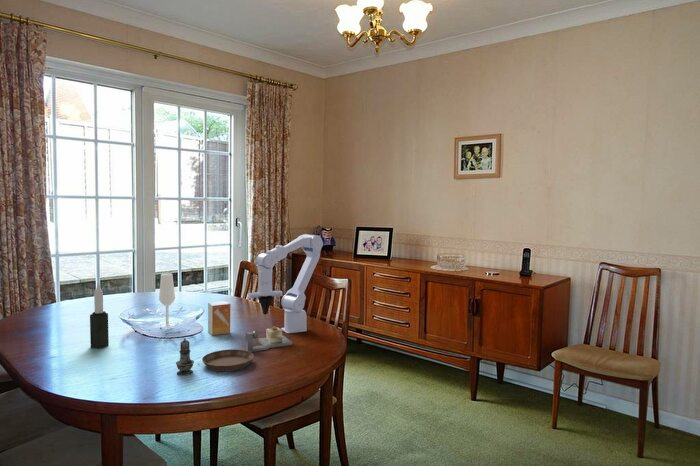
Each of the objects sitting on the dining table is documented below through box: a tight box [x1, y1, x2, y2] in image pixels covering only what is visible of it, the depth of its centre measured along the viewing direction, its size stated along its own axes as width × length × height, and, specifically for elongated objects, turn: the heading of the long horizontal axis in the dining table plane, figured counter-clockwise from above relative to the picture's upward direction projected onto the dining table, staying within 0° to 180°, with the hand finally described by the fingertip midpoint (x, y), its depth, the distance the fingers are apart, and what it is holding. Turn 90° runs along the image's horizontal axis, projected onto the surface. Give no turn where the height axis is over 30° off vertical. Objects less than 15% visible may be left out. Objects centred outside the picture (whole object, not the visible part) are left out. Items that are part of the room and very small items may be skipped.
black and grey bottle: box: [89, 282, 110, 350], centre depth 186 cm, size 5×5×25 cm
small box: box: [207, 300, 232, 336], centre depth 208 cm, size 8×6×13 cm
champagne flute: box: [158, 272, 176, 327], centre depth 214 cm, size 7×7×24 cm
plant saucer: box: [201, 348, 254, 372], centre depth 171 cm, size 18×18×3 cm
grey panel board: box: [245, 331, 293, 353], centre depth 193 cm, size 19×12×7 cm, turn 118°
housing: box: [265, 326, 283, 343], centre depth 195 cm, size 5×5×6 cm
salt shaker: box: [175, 337, 195, 377], centre depth 161 cm, size 6×6×12 cm
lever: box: [251, 330, 259, 340], centre depth 190 cm, size 2×11×3 cm, turn 28°
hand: (265, 313), depth 203 cm, fingers closed
